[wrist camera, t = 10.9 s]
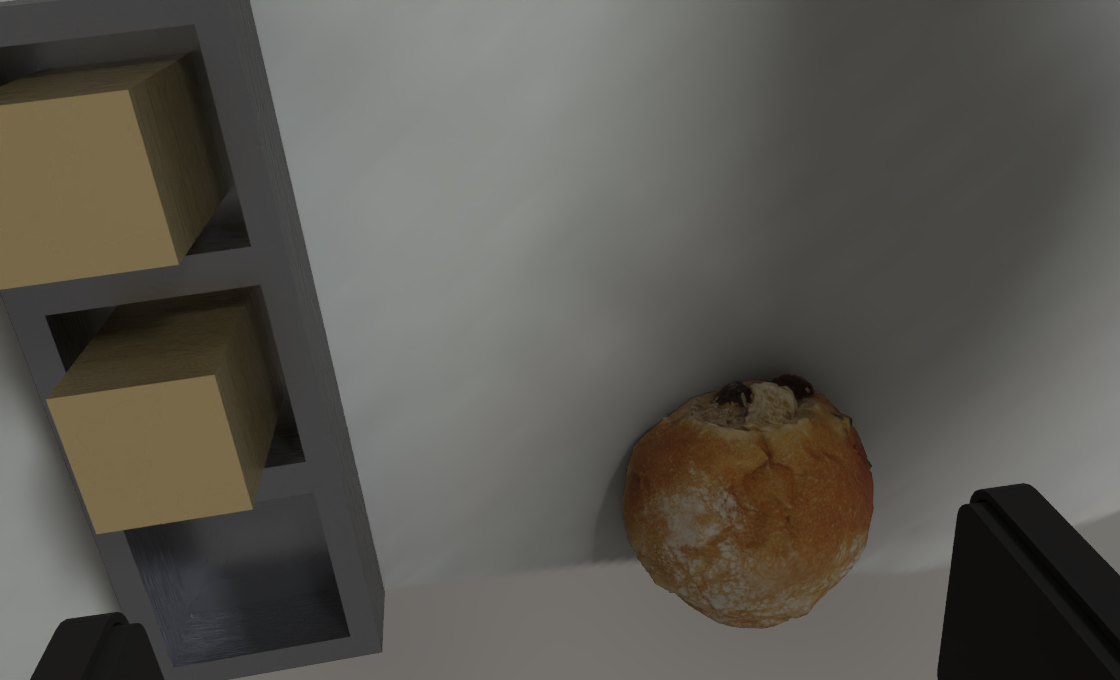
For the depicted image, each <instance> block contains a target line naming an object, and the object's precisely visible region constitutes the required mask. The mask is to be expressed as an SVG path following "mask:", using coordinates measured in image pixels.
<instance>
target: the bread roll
mask: <svg viewBox="0 0 1120 680" xmlns="http://www.w3.org/2000/svg"><path fill="white" fill-rule="evenodd" d="M871 467H872V465H871V464H870V462H869V461H868V460H867V456H866V453H865V450H864V448H863V445H862V443H861V440H860V438H859V435H858V433H857V431H856V429H855V428H854V427H852V418H851V417H849V416H846V415H844V414H841V413H840V412H839V411H838V410H837V409H836V408H835V407H833V406H832V405H831V404H830V403H829V401H828V400H827V399H826V398H825V397H824V396H822V395H821V394H820V393H816V392H815V390H813V387H812V385H811V384H810V383H809V382H808V381H806V380H805V379H804V378H802V377H801V376H798V375H790V374H784V375H781V376H780V377H778V378H774V379H773V380H772V381H771V382H766V381H764V380H750V381H745V382H738V381H734V382H733V383H731V384H728V385H726V386H725V387H723V388H722V389H720V390H718V391H714V392H710V393H706V394H702V395H700V396H697V397H693V398H691V399H690V400H689V401H688V402H686V403H685V404H684V405H682V406H681V407H679V408H678V409H677V410H675V411H674V412H673V413H672V414H671V415H670V416H669V417H663V418H662V419H661V421H660V422H659V423H658V424H657V425H655V426H654V427H653V428H652V429H651V430H650V431H649V432H648V433H646V434H645V435H644V436H643V437H642V438H641V439H640V441H639V442H638V443H637V444H636V445H635V446H634V448H633V454H632V457H631V458H630V462H629V466H628V467H627V469H626V471H627V477H626V485H625V489H624V494H623V502H622V511H623V519H624V522H625V528H626V533H627V537H628V539H629V542H630V544H631V546H632V547H633V548H634V551H635V552H636V554H637V558H638V560H639V561H640V562H641V564H642V565H643V567H644V568H645V569H646V571H647V572H648V573H649V574H650V576H651V578H652V579H653V581H654V583H655V584H657V585H659V586H661V587H663V588H664V589H666V590H668V591H669V592H670V593H676V594H677V595H678V596H679V597H680V598H681V599H682V600H683V601H684V602H686V603H687V604H688V605H689V606H691V607H693V608H694V609H696V610H697V611H700V612H701V613H702V614H704V615H706V616H707V617H709V618H711V619H713V620H714V621H716V622H718V623H721V624H725V625H728V626H732V627H739V628H768V627H772V626H775V625H778V624H780V623H783V622H785V621H788V620H789V619H790V618H799V617H801V616H804V615H806V614H808V613H809V611H810V610H811V609H812V608H813V606H814V605H815V604H816V602H818V600H819V599H820V598H822V597H823V596H824V595H825V594H826V593H827V591H828V590H830V589H831V588H832V587H834V586H835V585H836V584H837V583H838V582H839V581H840V580H841V579H842V578H843V577H844V576H845V575H846V574H847V573H848V572H849V571H850V569H851V568H852V567H853V565H854V564H855V562H856V561H857V560H858V558H859V557H860V555H861V553H862V552H863V550H864V548H865V545H866V542H867V537H868V531H869V526H870V521H871V517H872V513H873V479H872V474H871V472H870V468H871Z"/></svg>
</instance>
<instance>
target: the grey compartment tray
mask: <svg viewBox="0 0 1120 680" xmlns="http://www.w3.org/2000/svg"><path fill="white" fill-rule="evenodd" d="M186 52H191V54H192V58H193V62H194V66H195V70H196V74H197V78H198V81H199V85H200V89H201V93H202V97H203V101H204V105H205V108H206V112H207V116H208V120H209V124H210V128H211V132H212V135H213V139H214V143H215V147H216V151H217V155H218V159H219V162H220V166H221V170H222V174H223V178H224V182H225V186H226V189H227V195H226V196H225V198H224V199H223V201H222V202H221V204H220V205H219V206H218V208H217V209H216V211H215V212H214V214H213V215H212V217H211V218H210V220H209V221H208V223H207V224H206V226H205V227H204V229H203V230H202V232H201V233H200V234H199V236H198V237H197V239H196V240H195V242H194V243H193V245H192V246H191V248H190V249H189V251H188V252H187V254H186V255H185V257H184V258H183V260H182V261H181V262H180V264H179V265H173V266H166V267H159V268H152V269H145V270H138V271H130V272H123V273H116V274H109V275H102V276H95V277H88V278H80V279H73V280H66V281H59V282H52V283H45V284H38V285H31V286H23V287H16V288H9V289H2V290H0V293H1V296H2V299H3V301H4V304H5V306H6V309H7V312H8V314H9V317H10V319H11V322H12V325H13V327H14V330H15V333H16V335H17V338H18V340H19V343H20V346H21V348H22V351H23V353H24V356H25V359H26V361H27V364H28V366H29V369H30V372H31V374H32V377H33V379H34V382H35V385H36V387H37V390H38V393H39V395H40V398H41V400H42V403H43V406H44V408H45V411H46V413H47V416H48V419H49V421H50V424H51V426H52V429H53V432H54V434H55V437H56V440H57V442H58V445H59V447H60V450H61V453H62V455H63V458H64V460H65V463H66V466H67V468H68V471H69V473H70V476H71V479H72V481H73V484H74V487H75V489H76V492H77V494H78V497H79V500H80V502H81V505H82V507H83V510H84V513H85V515H86V518H87V520H88V523H89V526H90V528H91V531H92V533H93V536H94V539H95V541H96V544H97V547H98V549H99V552H100V554H101V557H102V560H103V562H104V565H105V567H106V570H107V573H108V575H109V578H110V580H111V583H112V586H113V588H114V591H115V594H116V596H117V599H118V601H119V604H120V607H121V609H122V612H123V614H124V616H125V617H126V618H127V620H128V622H129V624H131V623H140V624H142V625H143V626H144V628H145V630H146V632H147V635H148V638H149V640H150V643H151V645H152V648H153V651H154V653H155V656H156V659H157V661H158V664H159V666H160V669H161V672H162V674H163V677H164V680H228V679H234V678H240V677H245V676H251V675H257V674H262V673H268V672H273V671H279V670H284V669H290V668H296V667H301V666H307V665H313V664H318V663H324V662H329V661H335V660H341V659H346V658H352V657H357V656H363V655H369V654H375V653H380V652H382V642H383V620H384V597H385V591H384V587H383V583H382V578H381V574H380V569H379V565H378V561H377V556H376V552H375V547H374V543H373V539H372V534H371V530H370V526H369V521H368V517H367V512H366V508H365V504H364V499H363V495H362V491H361V486H360V482H359V477H358V473H357V469H356V464H355V460H354V456H353V451H352V447H351V442H350V438H349V434H348V429H347V425H346V421H345V416H344V412H343V407H342V403H341V399H340V394H339V390H338V385H337V381H336V377H335V372H334V368H333V364H332V359H331V355H330V350H329V346H328V342H327V337H326V333H325V329H324V324H323V320H322V315H321V311H320V307H319V302H318V298H317V294H316V289H315V285H314V280H313V276H312V272H311V267H310V263H309V259H308V254H307V250H306V245H305V241H304V237H303V232H302V228H301V224H300V219H299V215H298V210H297V206H296V202H295V197H294V193H293V188H292V184H291V180H290V175H289V171H288V167H287V162H286V158H285V153H284V149H283V145H282V140H281V136H280V132H279V127H278V123H277V118H276V114H275V110H274V105H273V101H272V97H271V92H270V88H269V83H268V79H267V75H266V70H265V66H264V62H263V57H262V53H261V48H260V44H259V40H258V35H257V31H256V26H255V22H254V18H253V13H252V9H251V5H250V0H15V1H7V2H0V86H3V85H5V84H8V83H10V82H12V81H15V80H17V79H20V78H22V77H25V76H27V75H30V74H32V73H35V72H37V71H39V70H46V69H54V68H63V67H71V66H79V65H87V64H96V63H104V62H112V61H120V60H129V59H137V58H145V57H153V56H161V55H170V54H178V53H186ZM248 286H254V287H255V291H256V295H257V299H258V303H259V307H260V311H261V315H262V319H263V323H264V327H265V331H266V335H267V338H268V342H269V346H270V350H271V354H272V358H273V362H274V366H275V370H276V374H277V378H278V382H279V386H280V390H281V394H282V398H283V401H282V405H281V408H280V412H279V416H278V419H277V423H276V427H275V430H274V434H273V438H272V441H271V445H270V449H269V452H268V456H267V460H266V463H265V467H264V470H263V474H262V478H261V481H260V485H259V489H258V492H257V496H256V500H255V503H254V507H253V510H246V511H240V512H234V513H228V514H221V515H215V516H209V517H203V518H196V519H190V520H184V521H177V522H171V523H165V524H159V525H152V526H146V527H140V528H133V529H127V530H121V531H115V532H108V533H102V534H96V532H95V529H94V527H93V524H92V521H91V519H90V516H89V513H88V511H87V508H86V505H85V503H84V500H83V497H82V495H81V492H80V489H79V487H78V484H77V481H76V479H75V476H74V473H73V471H72V468H71V465H70V463H69V460H68V457H67V455H66V452H65V449H64V447H63V444H62V441H61V439H60V436H59V433H58V431H57V428H56V425H55V423H54V420H53V417H52V415H51V412H50V409H49V407H48V404H47V401H46V399H47V397H48V396H49V395H50V393H51V392H52V391H53V389H54V388H55V387H56V386H57V384H58V383H59V382H60V380H61V379H62V378H63V376H64V375H65V374H66V372H67V371H68V370H69V369H70V367H71V366H72V365H73V363H74V362H75V361H76V359H77V358H78V357H79V355H80V354H81V353H82V352H83V350H84V349H85V348H86V346H87V345H88V344H89V342H90V341H91V340H92V338H93V337H94V336H95V335H96V333H97V332H98V331H99V329H100V328H101V327H102V325H103V324H104V323H105V321H106V320H107V319H108V318H109V316H110V315H111V314H112V312H113V311H114V310H115V308H116V307H117V306H118V305H122V304H129V303H136V302H143V301H150V300H157V299H164V298H171V297H178V296H185V295H192V294H199V293H206V292H213V291H220V290H227V289H234V288H241V287H248Z"/></svg>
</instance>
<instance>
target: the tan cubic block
mask: <svg viewBox="0 0 1120 680" xmlns="http://www.w3.org/2000/svg"><path fill="white" fill-rule="evenodd" d="M46 401H47V404H48V407H49V409H50V412H51V415H52V417H53V420H54V423H55V425H56V428H57V431H58V433H59V436H60V439H61V441H62V444H63V447H64V449H65V452H66V455H67V457H68V460H69V463H70V465H71V468H72V471H73V473H74V476H75V479H76V481H77V484H78V487H79V489H80V492H81V495H82V497H83V500H84V503H85V505H86V508H87V511H88V513H89V516H90V519H91V521H92V524H93V527H94V529H95V532H96V534H102V533H108V532H115V531H121V530H127V529H133V528H140V527H146V526H152V525H159V524H165V523H171V522H177V521H184V520H190V519H196V518H203V517H209V516H215V515H221V514H228V513H234V512H240V511H246V510H253V507H254V503H255V500H256V496H257V492H258V489H259V485H260V481H261V478H262V474H263V470H264V467H265V463H266V460H267V456H268V452H269V449H270V445H271V441H272V438H273V434H274V430H275V427H276V423H277V419H278V416H279V412H280V408H281V405H282V401H283V398H282V394H281V390H280V386H279V382H278V378H277V374H276V370H275V366H274V362H273V358H272V354H271V350H270V346H269V342H268V338H267V335H266V331H265V327H264V323H263V319H262V315H261V311H260V307H259V303H258V299H257V295H256V291H255V287H254V286H248V287H241V288H234V289H227V290H220V291H213V292H206V293H199V294H192V295H185V296H178V297H171V298H164V299H157V300H150V301H143V302H136V303H129V304H122V305H118V306H117V307H116V308H115V310H114V311H113V312H112V314H111V315H110V316H109V318H108V319H107V320H106V321H105V323H104V324H103V325H102V327H101V328H100V329H99V331H98V332H97V333H96V335H95V336H94V337H93V338H92V340H91V341H90V342H89V344H88V345H87V346H86V348H85V349H84V350H83V352H82V353H81V354H80V355H79V357H78V358H77V359H76V361H75V362H74V363H73V365H72V366H71V367H70V369H69V370H68V371H67V372H66V374H65V375H64V376H63V378H62V379H61V380H60V382H59V383H58V384H57V386H56V387H55V388H54V389H53V391H52V392H51V393H50V395H49V396H48V397H47V399H46Z"/></svg>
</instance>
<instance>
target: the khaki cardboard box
mask: <svg viewBox="0 0 1120 680" xmlns="http://www.w3.org/2000/svg"><path fill="white" fill-rule="evenodd" d="M226 195H227V189H226V186H225V182H224V178H223V174H222V170H221V166H220V162H219V159H218V155H217V151H216V147H215V143H214V139H213V135H212V132H211V128H210V124H209V120H208V116H207V112H206V108H205V105H204V101H203V97H202V93H201V89H200V85H199V81H198V78H197V74H196V70H195V66H194V62H193V58H192V54H191V52H186V53H178V54H170V55H161V56H153V57H145V58H137V59H129V60H120V61H112V62H104V63H96V64H87V65H79V66H71V67H63V68H54V69H46V70H39V71H37V72H35V73H32V74H30V75H27V76H25V77H22V78H20V79H17V80H15V81H12V82H10V83H8V84H5V85H3V86H0V290H2V289H9V288H16V287H23V286H31V285H38V284H45V283H52V282H59V281H66V280H73V279H80V278H88V277H95V276H102V275H109V274H116V273H123V272H130V271H138V270H145V269H152V268H159V267H166V266H173V265H179V264H180V262H181V261H182V260H183V258H184V257H185V255H186V254H187V252H188V251H189V249H190V248H191V246H192V245H193V243H194V242H195V240H196V239H197V237H198V236H199V234H200V233H201V232H202V230H203V229H204V227H205V226H206V224H207V223H208V221H209V220H210V218H211V217H212V215H213V214H214V212H215V211H216V209H217V208H218V206H219V205H220V204H221V202H222V201H223V199H224V198H225V196H226Z"/></svg>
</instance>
